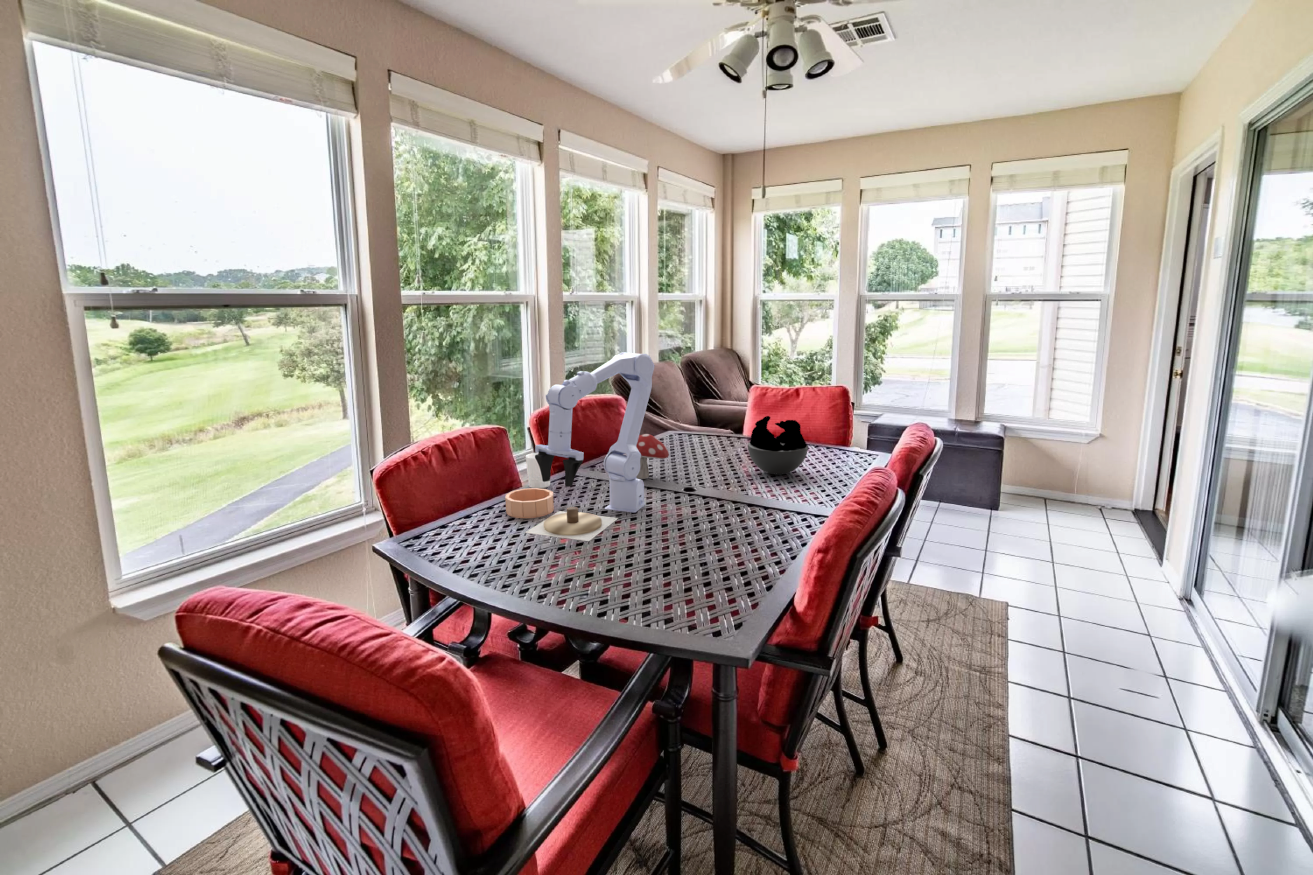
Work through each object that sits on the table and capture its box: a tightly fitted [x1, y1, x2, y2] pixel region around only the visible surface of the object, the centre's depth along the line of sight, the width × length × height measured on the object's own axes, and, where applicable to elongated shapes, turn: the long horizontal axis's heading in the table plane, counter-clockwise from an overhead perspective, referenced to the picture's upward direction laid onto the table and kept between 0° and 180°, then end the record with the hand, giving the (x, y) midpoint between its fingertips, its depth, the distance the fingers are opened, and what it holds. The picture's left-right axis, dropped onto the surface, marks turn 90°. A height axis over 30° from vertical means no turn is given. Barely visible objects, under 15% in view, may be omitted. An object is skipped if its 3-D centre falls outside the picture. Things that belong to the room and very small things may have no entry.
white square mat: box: [524, 510, 619, 542], centre depth 171 cm, size 18×18×1 cm
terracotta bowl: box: [504, 487, 555, 519], centre depth 183 cm, size 13×13×5 cm
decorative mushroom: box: [636, 433, 670, 480], centre depth 215 cm, size 16×16×15 cm
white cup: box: [525, 452, 551, 489], centre depth 208 cm, size 8×8×10 cm
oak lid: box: [543, 506, 602, 535], centre depth 170 cm, size 15×15×4 cm
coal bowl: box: [747, 415, 809, 476], centre depth 219 cm, size 20×20×19 cm
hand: (557, 483), depth 169 cm, fingers open, 7 cm apart
